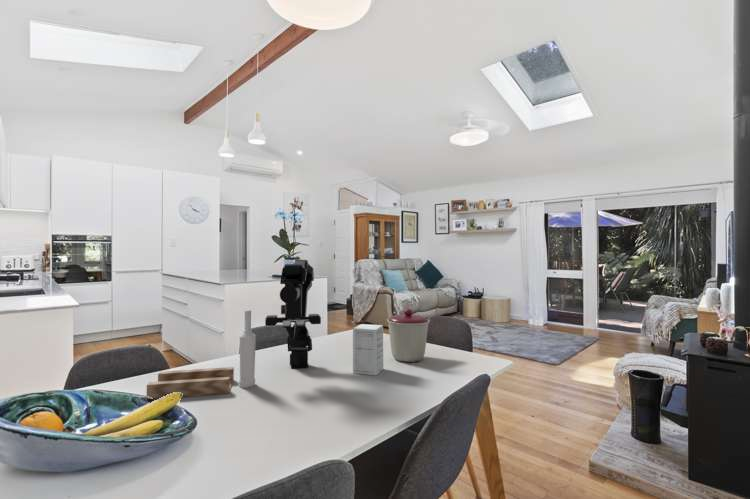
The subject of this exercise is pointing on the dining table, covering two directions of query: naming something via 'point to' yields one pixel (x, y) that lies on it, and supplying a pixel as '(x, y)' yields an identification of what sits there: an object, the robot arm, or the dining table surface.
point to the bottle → (247, 354)
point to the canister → (408, 336)
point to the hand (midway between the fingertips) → (293, 344)
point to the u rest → (192, 382)
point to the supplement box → (368, 349)
